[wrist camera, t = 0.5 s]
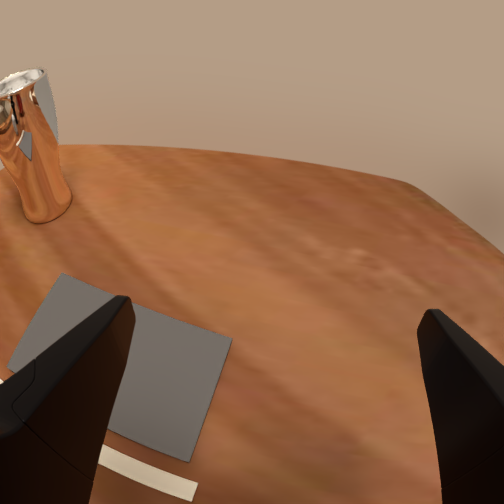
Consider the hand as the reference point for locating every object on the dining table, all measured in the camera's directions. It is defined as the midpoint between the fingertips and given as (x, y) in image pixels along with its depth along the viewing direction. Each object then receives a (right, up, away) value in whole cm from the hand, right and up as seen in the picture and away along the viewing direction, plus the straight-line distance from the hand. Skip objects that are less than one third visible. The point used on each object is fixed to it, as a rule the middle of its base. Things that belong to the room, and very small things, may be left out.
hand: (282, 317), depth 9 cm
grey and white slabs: (-12, -7, +12) cm, 18 cm away
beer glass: (-24, +7, +21) cm, 32 cm away
